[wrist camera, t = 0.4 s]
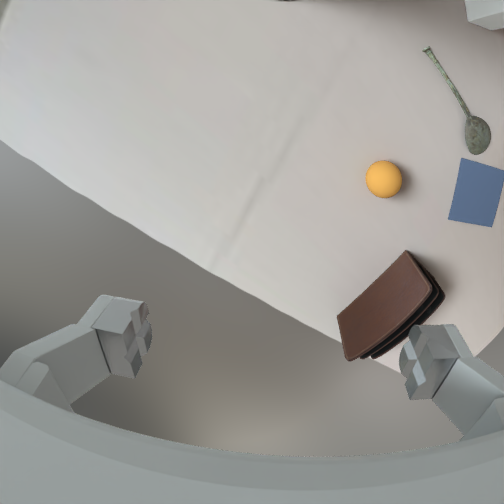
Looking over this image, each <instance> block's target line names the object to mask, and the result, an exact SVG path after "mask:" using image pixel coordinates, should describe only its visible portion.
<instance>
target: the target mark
mask: <svg viewBox="0 0 504 504" xmlns="http://www.w3.org/2000/svg"><path fill="white" fill-rule="evenodd" d="M503 182H504V171H503V170H500V169H497V168H494V167H491V166H488V165H484V164H481V163H478V162H474V161H471V160H467V159H464V158H461V162H460V168H459V173H458V178H457V183H456V188H455V192H454V197H453V201H452V205H451V209H450V213H449V217H448V220H454V221H460V222H465V223H471V224H477V225H482V226H488V227H492V225H493V222H494V218H495V214H496V211H497V207H498V203H499V199H500V195H501V191H502V186H503Z"/></svg>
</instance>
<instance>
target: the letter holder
mask: <svg viewBox="0 0 504 504" xmlns="http://www.w3.org/2000/svg"><path fill="white" fill-rule="evenodd" d="M444 299H445V293H444V292H443V290H442V289H441V287H440V286H439V284H438V283H437V282H436V280H435V278H434V277H433V276H432V275H431V274H430V273H429V272H428V271H427V270H426V269H425V268H424V267H423V266H422V265H421V264H420V263H419V262H418V261H417V260H416V259H415V258H414V257H413V256H412V255H411V254H410V253H409V252H408V251H406V250H405V251H404V252H403V254H402V255H401V256H400V257H399V258H398V259H397V260H396V261H395V262H394V263H393V264H392V265H391V266H390V267H389V268H388V269H387V270H386V271H385V272H384V273H383V274H382V275H381V276H380V277H379V278H378V279H377V280H375V281H374V282H373V283H372V284H371V285H370V286H369V287H368V288H367V289H366V290H365V291H364V292H363V293H362V294H361V295H360V296H358V297H357V298H356V299H355V300H354V301H353V302H352V303H351V304H350V305H349V306H348V307H346V308H345V309H344V310H343V311H342V312H341V313H340V314H339V315H337V320H338V324H339V329H340V334H341V339H342V345H343V349H344V354H345V358H346V359H347V360H348V361H353V360H355V359H357V358H358V357H360V359H365V358H367V357H369V356H371V358H372V359H376V358H378V357H380V356H382V355H383V354H385V353H386V352H388V351H389V350H391V349H392V348H394V347H395V346H396V345H398V344H399V343H400V342H402V341H403V340H404V339H405V338H407V337H408V334H409V332H410V330H411V328H412V327H413V326H414V325H422V324H423V323H424V322H425V321H426V320H427V319H428V318H429V317H430V316H431V315H432V314H433V313H434V312H435V311H436V309H437V308H438V307H439V306H440V305H441V303H442V302H443V301H444Z"/></svg>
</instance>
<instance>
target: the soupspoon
mask: <svg viewBox="0 0 504 504" xmlns="http://www.w3.org/2000/svg"><path fill="white" fill-rule="evenodd" d="M429 48H430V46H429V47H427V48H425V49H424V50H423V52H426V54H427V55H429V57H430V59H431V60H433V62H434V64H436V66H437V67H438V69H439V70H440V72H441V73H442V75H443V77H444V78H445V80H446V81H447V83H448V85H449V86H450V88H451V89H452V91H453V93H454V94H455V96H456V97H457V99H458V101H459V103H460V105H461V107H462V109H463V111H464V113H465V115H466V117H467V121H466V126H465V137H466V143H467V146H468V148H469V151H470V152H471V153H472V154H474V155H478V154H481V153H483V152H484V151H485V150H486V149H487V147H488V145H489V143H490V139H491V133H490V129H489V126H488V125H487V123H486V122H485V121H484V120H483V119H481V118H479V117H476V116H471V115H470V113H469V111H468V109H467V107H466V105H465V103H464V102H463V100H462V98H461V97H460V95H459V93H458V92H457V90H456V89H455V87H454V86H453V84H452V82H451V81H450V80H449V78H448V77H447V75H446V73H445V72H444V70H443V69H442V68H441V66H440V65H439V64H438V60H436V59H435V56H434V55H433V54H432V52H431V50H429Z"/></svg>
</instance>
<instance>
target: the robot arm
mask: <svg viewBox="0 0 504 504" xmlns="http://www.w3.org/2000/svg"><path fill="white" fill-rule="evenodd" d="M148 314H149V311H148V306H147V304H146V303H145V302H142V301H137V300H131V299H126V298H120V297H114V296H109V295H100V296H99V297H98V298H97V300H96V301H95V302H94V303H93V305H92V306H91V307H90V308H89V310H88V311H87V312H86V314H85V315H84V316H83V317H82V318H81V320H80V321H79V322H78V324H77V325H76V324H71V325H69V326H67V327H65V328H63V329H61V330H58V331H56V332H54V333H52V334H50V335H47V336H45V337H43V338H41V339H39V340H37V341H35V342H32V343H30V344H28V345H26V346H24V347H22V348H20V349H17V350H15V351H14V352H13V353H12V354H11V356H10V357H9V358H8V359H7V361H6V362H5V363H4V365H3V366H2V367H1V369H0V504H504V376H503V375H501V374H500V373H499V372H497V371H496V370H494V369H493V368H492V367H490V366H489V365H488V364H486V363H485V362H484V361H482V360H481V359H479V358H478V357H473V355H472V353H471V351H470V349H469V348H468V346H467V344H466V342H465V341H464V339H463V337H462V335H461V334H460V332H459V330H458V329H457V327H456V326H455V325H453V324H443V325H414V326H413V327H412V328H411V330H410V332H409V334H408V336H409V339H410V341H408V342H407V343H406V344H405V345H403V348H402V350H401V352H400V358H399V366H400V370H401V374H402V375H404V376H405V377H406V378H407V381H406V383H405V386H406V389H407V392H408V396H409V399H410V400H418V399H432V401H433V402H434V403H435V404H436V405H437V406H438V407H439V408H440V409H441V410H442V412H443V413H444V414H445V415H446V416H447V417H448V418H449V419H450V420H451V421H452V423H453V424H454V425H455V426H456V427H457V428H458V429H459V430H460V431H461V432H462V434H463V435H464V436H463V437H462V438H461V439H460V441H459V442H455V443H450V444H445V445H440V446H435V447H429V448H423V449H416V450H409V451H402V452H393V453H384V454H373V455H358V456H335V457H303V456H300V457H299V456H277V455H263V454H262V455H261V454H252V453H242V452H233V451H224V450H218V449H211V448H205V447H199V446H193V445H187V444H182V443H177V442H173V441H168V440H163V439H159V438H155V437H150V436H146V435H143V434H139V433H135V432H131V431H128V430H124V429H121V428H117V427H114V426H111V425H108V424H104V423H101V422H98V421H95V420H92V419H89V418H86V417H83V416H81V415H78V414H75V413H74V411H73V410H72V408H71V407H70V405H69V404H71V403H72V402H74V401H75V400H76V399H78V398H79V397H81V396H82V395H83V394H84V393H86V392H87V391H89V390H90V389H91V388H93V387H94V386H96V385H97V384H98V383H100V382H101V381H103V380H104V379H105V378H107V377H108V376H109V375H110V373H111V374H116V375H121V376H125V377H130V378H136V375H137V373H138V371H139V369H140V367H141V365H142V360H141V356H143V355H145V354H146V353H147V352H148V350H149V348H150V344H151V340H152V329H151V324H150V323H149V322H148V321H147V319H146V318H147V315H148Z"/></svg>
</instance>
